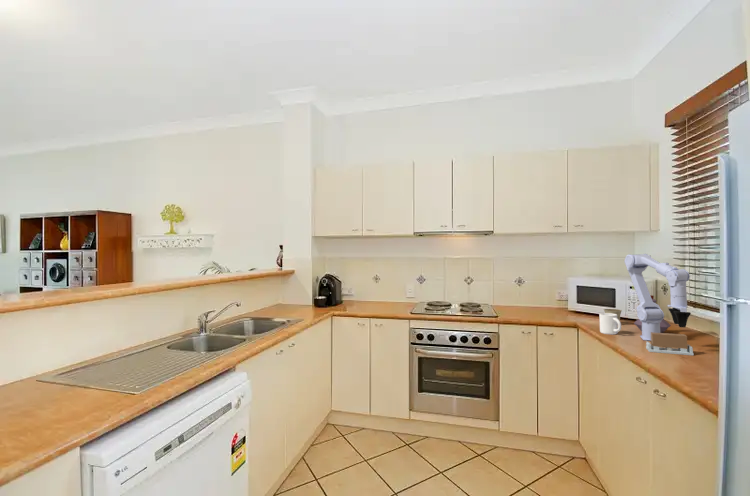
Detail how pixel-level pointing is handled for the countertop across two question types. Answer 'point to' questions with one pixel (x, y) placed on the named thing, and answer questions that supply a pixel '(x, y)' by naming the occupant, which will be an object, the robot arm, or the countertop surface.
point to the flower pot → (614, 312)
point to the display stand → (670, 349)
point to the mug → (609, 323)
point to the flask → (663, 324)
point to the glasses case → (669, 340)
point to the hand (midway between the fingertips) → (679, 325)
